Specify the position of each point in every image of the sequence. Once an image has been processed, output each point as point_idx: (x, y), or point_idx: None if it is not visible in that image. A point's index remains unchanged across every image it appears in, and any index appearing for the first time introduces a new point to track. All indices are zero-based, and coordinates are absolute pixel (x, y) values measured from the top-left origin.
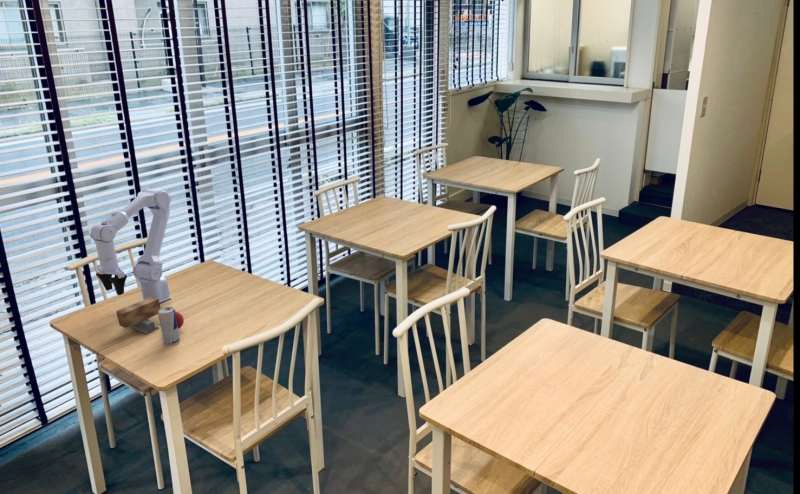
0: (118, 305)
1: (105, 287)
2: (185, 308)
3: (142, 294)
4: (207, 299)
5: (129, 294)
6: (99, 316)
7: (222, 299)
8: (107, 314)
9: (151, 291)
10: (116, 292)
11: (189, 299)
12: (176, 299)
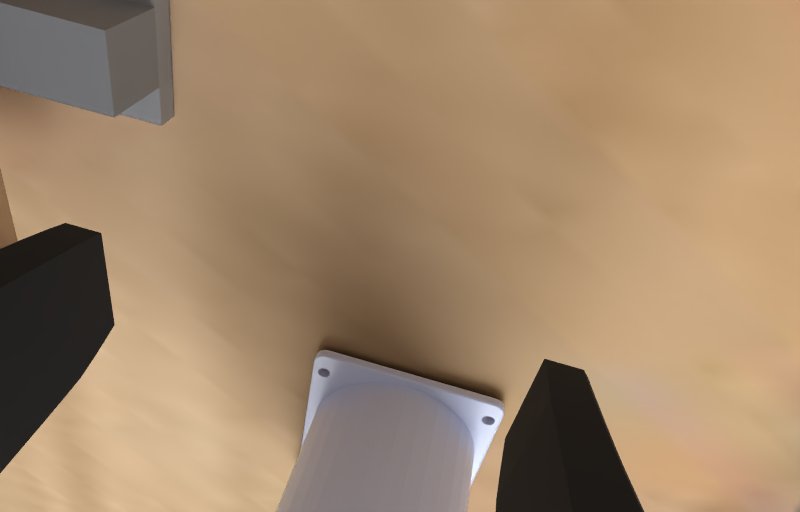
0: (689, 333)
1: (552, 424)
2: None
3: (407, 468)
4: (79, 475)
5: (733, 507)
6: (755, 49)
7: (8, 480)
8: (669, 130)
9: (288, 500)
10: (41, 260)
11: (176, 469)
12: (257, 464)
